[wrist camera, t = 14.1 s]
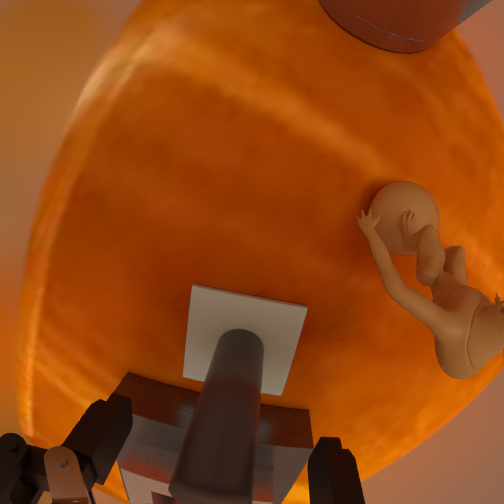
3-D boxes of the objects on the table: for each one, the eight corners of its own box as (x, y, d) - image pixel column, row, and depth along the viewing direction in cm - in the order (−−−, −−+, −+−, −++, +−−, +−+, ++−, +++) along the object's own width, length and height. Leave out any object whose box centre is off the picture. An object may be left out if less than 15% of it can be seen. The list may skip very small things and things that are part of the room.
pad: (193, 283, 18) (192, 285, 17) (306, 305, 18) (307, 308, 17) (184, 373, 19) (182, 376, 19) (281, 392, 19) (281, 395, 19)
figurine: (450, 217, 16) (598, 265, 4) (408, 299, 17) (521, 414, 6) (345, 150, 16) (482, 97, 4) (300, 243, 17) (356, 365, 5)
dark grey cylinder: (220, 324, 18) (167, 469, 7) (268, 334, 18) (260, 488, 7) (214, 362, 19) (168, 503, 8) (258, 371, 18) (244, 518, 8)
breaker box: (127, 372, 20) (86, 432, 13) (308, 410, 20) (318, 483, 13) (139, 474, 24) (119, 520, 17) (264, 501, 23) (261, 551, 16)
